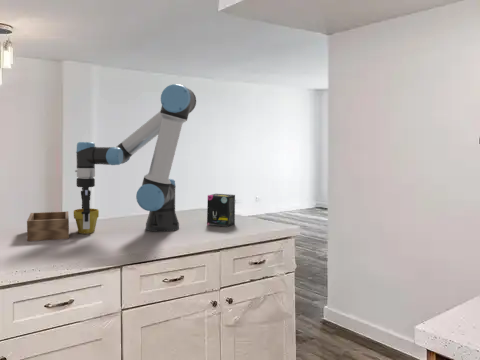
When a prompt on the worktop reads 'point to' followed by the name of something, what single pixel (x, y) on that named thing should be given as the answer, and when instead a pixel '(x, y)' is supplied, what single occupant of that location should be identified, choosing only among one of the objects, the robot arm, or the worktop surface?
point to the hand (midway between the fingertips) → (85, 226)
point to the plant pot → (79, 220)
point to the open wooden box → (48, 226)
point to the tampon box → (221, 210)
